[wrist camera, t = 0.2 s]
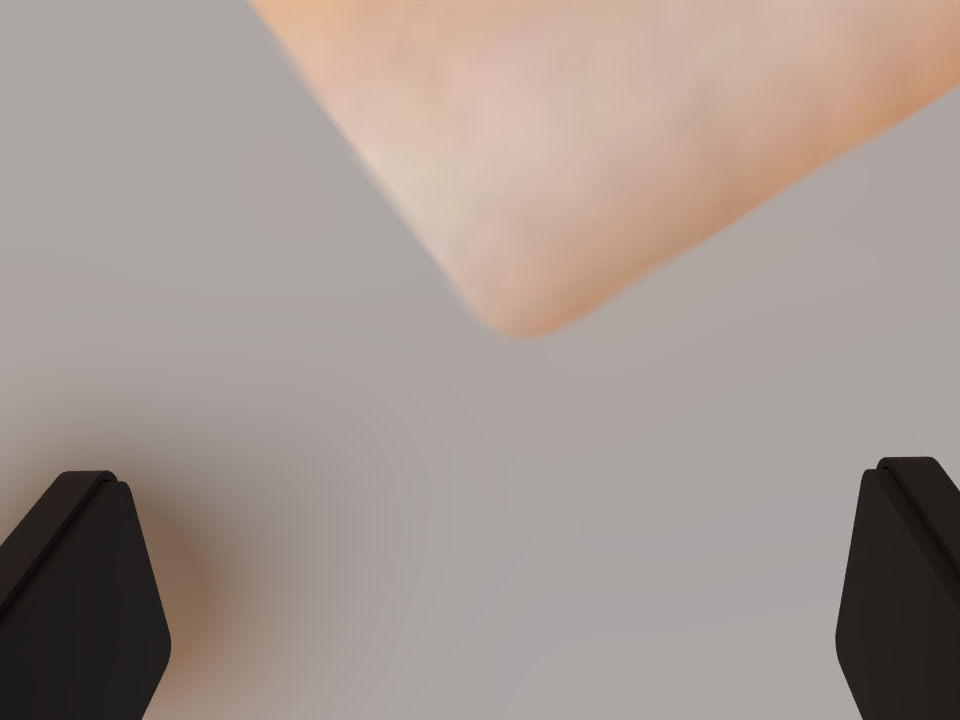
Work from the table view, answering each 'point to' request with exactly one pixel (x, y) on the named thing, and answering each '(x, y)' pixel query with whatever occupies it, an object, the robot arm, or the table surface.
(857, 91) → the table surface
